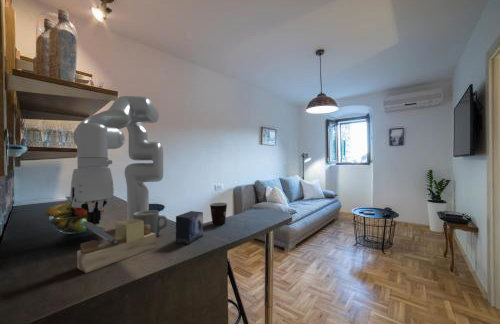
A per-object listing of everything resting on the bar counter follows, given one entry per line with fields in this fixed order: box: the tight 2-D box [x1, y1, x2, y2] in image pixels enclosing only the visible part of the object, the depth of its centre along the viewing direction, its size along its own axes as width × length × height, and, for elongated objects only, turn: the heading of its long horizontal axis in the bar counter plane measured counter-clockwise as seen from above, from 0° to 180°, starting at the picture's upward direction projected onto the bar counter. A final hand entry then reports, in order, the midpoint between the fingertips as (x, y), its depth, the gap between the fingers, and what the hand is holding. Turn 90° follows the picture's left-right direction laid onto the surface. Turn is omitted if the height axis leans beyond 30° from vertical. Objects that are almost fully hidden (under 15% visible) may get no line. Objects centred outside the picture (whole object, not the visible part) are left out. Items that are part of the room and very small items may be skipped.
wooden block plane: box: [76, 225, 157, 274], centre depth 72 cm, size 6×22×8 cm, turn 148°
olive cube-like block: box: [114, 218, 144, 243], centre depth 74 cm, size 7×6×6 cm
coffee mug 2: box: [209, 202, 228, 226], centre depth 108 cm, size 12×9×10 cm
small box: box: [175, 210, 204, 245], centre depth 87 cm, size 11×6×10 cm, turn 161°
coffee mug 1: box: [133, 209, 169, 237], centre depth 93 cm, size 13×10×10 cm
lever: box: [81, 220, 119, 244], centre depth 67 cm, size 5×1×11 cm
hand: (94, 223), depth 66 cm, fingers closed
